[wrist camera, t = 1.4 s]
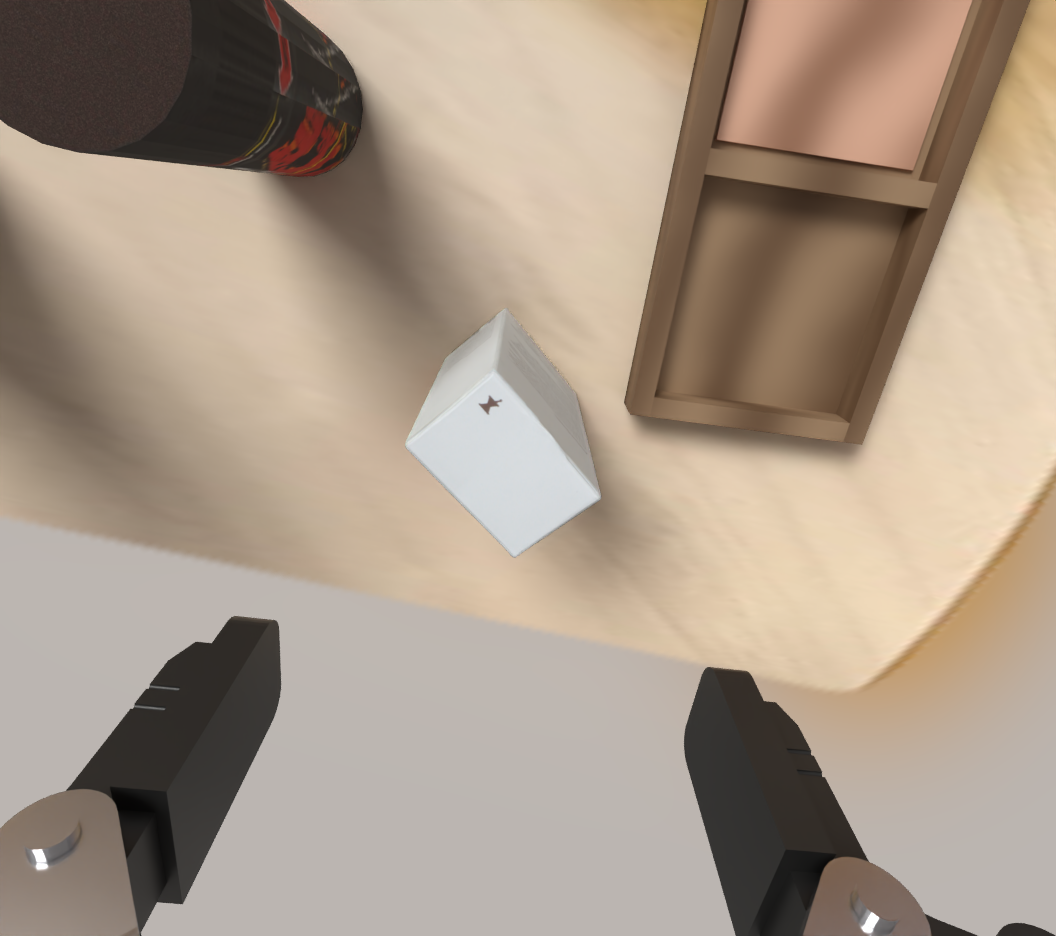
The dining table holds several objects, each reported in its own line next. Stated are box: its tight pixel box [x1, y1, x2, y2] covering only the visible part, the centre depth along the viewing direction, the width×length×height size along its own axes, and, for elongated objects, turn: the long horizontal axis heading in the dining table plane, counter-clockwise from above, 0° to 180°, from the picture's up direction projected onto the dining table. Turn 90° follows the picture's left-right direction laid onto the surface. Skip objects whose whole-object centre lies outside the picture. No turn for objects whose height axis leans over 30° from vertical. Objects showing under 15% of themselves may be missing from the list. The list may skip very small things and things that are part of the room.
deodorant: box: [0, 0, 363, 177], centre depth 20 cm, size 6×6×15 cm
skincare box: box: [405, 308, 601, 557], centre depth 26 cm, size 6×4×12 cm
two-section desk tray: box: [624, 0, 1030, 444], centre depth 27 cm, size 12×23×2 cm, turn 172°
